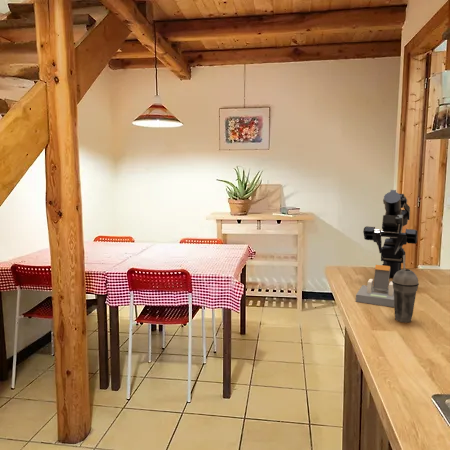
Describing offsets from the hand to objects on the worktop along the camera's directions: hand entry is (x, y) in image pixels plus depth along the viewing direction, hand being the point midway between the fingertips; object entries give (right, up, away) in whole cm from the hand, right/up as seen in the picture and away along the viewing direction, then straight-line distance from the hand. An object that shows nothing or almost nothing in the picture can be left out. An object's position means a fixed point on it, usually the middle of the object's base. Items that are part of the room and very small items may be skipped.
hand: (387, 253), depth 150 cm
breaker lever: (-6, -12, -10) cm, 16 cm away
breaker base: (-6, -15, -9) cm, 19 cm away
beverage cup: (-6, -18, -27) cm, 33 cm away
